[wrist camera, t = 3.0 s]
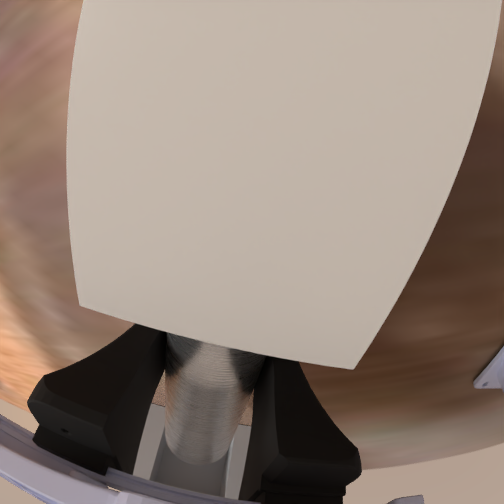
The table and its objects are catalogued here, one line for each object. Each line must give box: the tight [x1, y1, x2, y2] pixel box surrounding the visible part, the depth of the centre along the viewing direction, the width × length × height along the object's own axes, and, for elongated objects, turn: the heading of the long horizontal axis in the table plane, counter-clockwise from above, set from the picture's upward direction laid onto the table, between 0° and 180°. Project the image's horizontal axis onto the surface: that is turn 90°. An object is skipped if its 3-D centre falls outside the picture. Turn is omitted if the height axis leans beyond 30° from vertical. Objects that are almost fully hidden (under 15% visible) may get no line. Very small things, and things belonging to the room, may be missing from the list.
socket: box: [133, 403, 251, 500], centre depth 19 cm, size 8×6×7 cm
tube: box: [165, 332, 267, 465], centre depth 10 cm, size 4×22×4 cm, turn 168°
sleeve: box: [67, 0, 502, 370], centre depth 7 cm, size 6×9×7 cm
